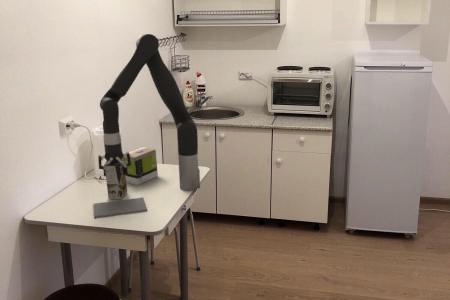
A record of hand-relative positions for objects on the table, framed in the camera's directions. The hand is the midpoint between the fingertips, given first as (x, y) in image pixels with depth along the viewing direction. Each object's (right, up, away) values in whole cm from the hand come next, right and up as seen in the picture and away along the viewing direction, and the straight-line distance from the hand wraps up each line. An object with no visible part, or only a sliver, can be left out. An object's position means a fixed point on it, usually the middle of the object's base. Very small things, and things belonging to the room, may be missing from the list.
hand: (115, 175), depth 221 cm
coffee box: (0, -9, +3) cm, 10 cm away
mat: (+4, -14, -10) cm, 17 cm away
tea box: (+7, -3, +24) cm, 25 cm away
